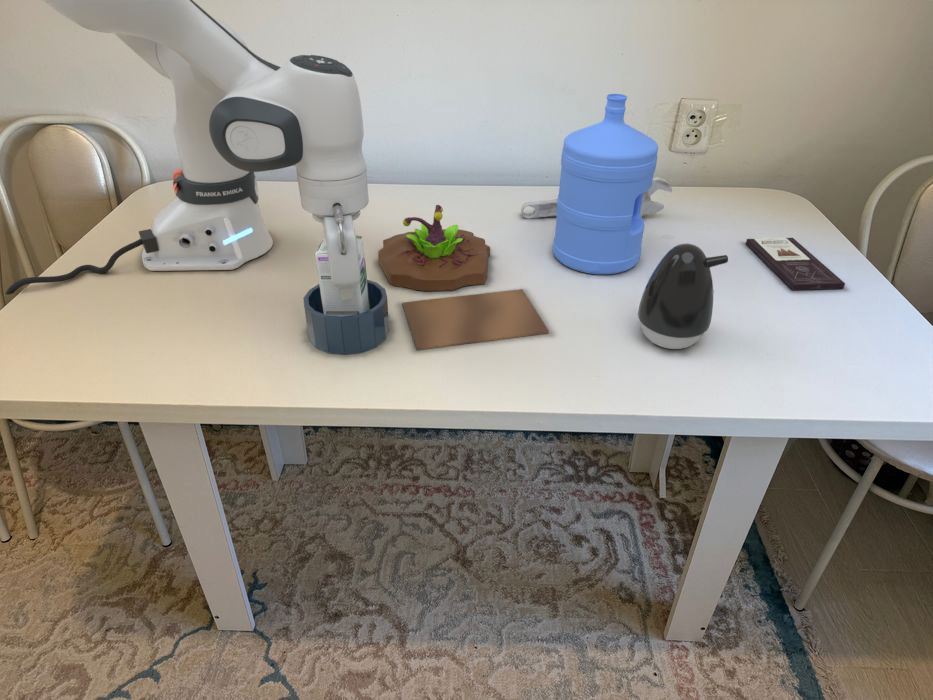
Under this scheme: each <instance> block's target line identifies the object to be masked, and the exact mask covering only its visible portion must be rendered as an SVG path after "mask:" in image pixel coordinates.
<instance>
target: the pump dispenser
mask: <svg viewBox="0 0 933 700" xmlns="http://www.w3.org/2000/svg"><path fill="white" fill-rule="evenodd" d="M728 262H729V256H728V255H726V254H724V255H723V254H722V255H716V256H708V257H707V256H706V254H705V252H704V251H703V250H702V249H701V248H700V246H697V245H696V244H692V243H681V244H677V245H675V246H674V247H672V248H671V249H669V250H668V252H667V253H665V255H664V256H663V257H662V258H661V260H660V261H659V262H658V264H657V265H656V267H655V269H654V270H653V272H651V275H650V277H649V279H648V281H647V283H646V284H645V287H644V290H643V293H642V296H641V298H640V301H639V304H638V310H637V318H638V320H639V325H640V328H641V331H642V333H643V334H644V336H645V337H646V338H647V339H648V340H649V341H650V342H651V343H652V344H654V345H657V346H658V347H661V348H664V349H670V350H681V349H686V348H688V347H691V346H693V345H695V344H696V343H698V341H700V340H701V338H702V337H703V336H704V334H705V333H707V332H708V330H709V329H710V326H711V322H712V317H713V309H714V284H713V283H714V282H713V276H712V272H711V268H712V267H716V266H720V265H724V264H727V263H728Z"/></svg>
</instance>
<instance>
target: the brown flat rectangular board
mask: <svg viewBox="0 0 933 700" xmlns="http://www.w3.org/2000/svg"><path fill="white" fill-rule="evenodd" d="M401 306H402V308H403V312H404V314H405V317H406V321H407V324H408V326H409V330H410V333H411V335H412V339H413V342H414V346H415V348H416V351H421V350H429V349H436V348H445V347H452V346H453V347H454V346H460V345H469V344H476V343H483V342H491V341H498V340H500V341H501V340H506V339H514V338H515V339H516V338H521V337H522V338H523V337H530V336H537V335H538V336H539V335H547V334H550V333H549V328H548V327H547V325H546V324H545V323H544V321H543V319H542V317H541V316H540V315H539V313H538V311H537V310H536V308H535V307H534V305H533V303H532V302H531V301H530V299H529V297H528V296H527V295H526V292H525V291H524V289H522V288H520V289H510V290H502V291H494V292H493V291H492V292H485V293H476V294H466V295H457V296H448V297H440V298H431V299H423V300H413V301H406V302H405V301H404V302H402V305H401Z"/></svg>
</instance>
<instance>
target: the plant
mask: <svg viewBox="0 0 933 700" xmlns="http://www.w3.org/2000/svg"><path fill="white" fill-rule="evenodd" d="M443 211H444V209H443V206H441V204H436V205H435V208H434V212H433V221H432V224H431V223H429V222H428V221H426V220H424V219H423V218H421V217H417V216H412V217H411V216H410V217H405V218H404V219H403V221H402V225H403V226H405V227H409V226H410V225H411V223H412V222H414V221H415V222H419V223H420V229H419V228H414V231H407V232H404V233H399V234H395V235H393V236H390V237H388V238H385V239H383V240H382V248H380V249H379V250H378V252H377V261H378V264H379V266H380V268H381V269H382V271H383V273H384V274H385V277H386V278H387V280H388V282H389V285H391V286H394V287H403V288H409V289H412V290H415V291H422V292H447V291H450V292H451V291H455V290H457V289H460V288H462V287H468V286H477V285H479V286H480V285H485V283H486V281H487V280H488V267H489V258H490V256H491V246H489V245H487V244H486V239H484V238H482V237H479V236H476V235H474V232H472V231H468V230H464V229H459V225H458V224H453V225H451V226H449V227H447V228H445V229H444V228H443V225H442V224H441V220H442V219H443Z"/></svg>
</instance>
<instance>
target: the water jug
mask: <svg viewBox="0 0 933 700" xmlns="http://www.w3.org/2000/svg"><path fill="white" fill-rule="evenodd" d="M627 100H628V96H627V95H626V94H621V93H609V94H607V95H606V104H605V107H604V111H605V112H604V118H603V119H602V121H600V122H597V123H594V124H592V125H589V126H586V127H583V128H580V129H578V130H575V131H572V132H570V133H569V134H567V135H566V136H565V138H564V139H563V145H562V149H561V158H560V165H561V167H560V177H559V187H558V195H557V198H556V199H557V215H556V218H555V231H554V238H553V242H552V252H553V255H554V257H555V258H556V259H557V261H558V262H559V263H561V264H562V265H564V266H566V267H567V268H570V269H572V270H575V271H578V272H581V273H586V274H591V275H613V274H619V273H623V272H626V271H629V270H631V269H632V268H634V267H635V266H636V265H637V264H638V263H639V260H640V258H641V253H642V242H643V238H644V237H643V236H644V232H645V231H644V230H645V220H644V219H643V216H642V217H641V215H640V212H641V206H642V200H643V194H644V192H646V191H647V190H649V189H650V188H651V186H652V181H653V177H654V175H655V172H656V169H657V162H658V151H659V145H658V143H657V142H656V140H655V139H653V138H652V137H651V136H649V135H647V134H645V133H643V132H641V131H640V130H638V129H636V128H634V127H632V126H630V125H629V124H627V123H626V122H625V120H624V119H625V112H626V101H627Z"/></svg>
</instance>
